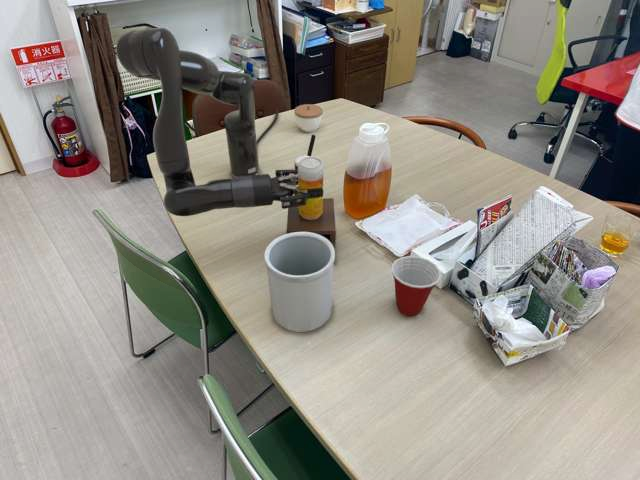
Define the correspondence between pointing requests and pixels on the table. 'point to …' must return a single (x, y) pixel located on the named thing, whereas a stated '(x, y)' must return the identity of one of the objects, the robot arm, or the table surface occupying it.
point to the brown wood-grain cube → (314, 221)
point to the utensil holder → (300, 280)
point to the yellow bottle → (311, 186)
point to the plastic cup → (413, 283)
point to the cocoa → (307, 153)
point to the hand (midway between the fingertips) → (320, 184)
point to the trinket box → (308, 117)
